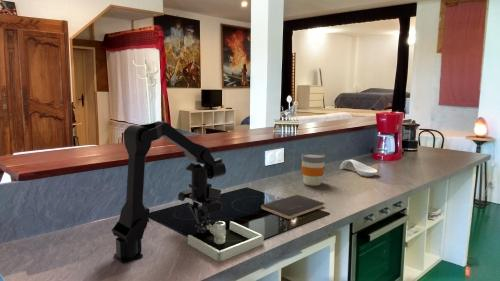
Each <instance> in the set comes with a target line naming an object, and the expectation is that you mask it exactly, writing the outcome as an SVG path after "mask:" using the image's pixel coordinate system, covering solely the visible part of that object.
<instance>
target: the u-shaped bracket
mask: <svg viewBox="0 0 500 281" xmlns="http://www.w3.org/2000/svg"><path fill="white" fill-rule="evenodd" d="M229 230H230V231H232V232H234V233H237V234H239V235H241V236H242V237H245V238H246V239H247V240H245V241H242V242H240V243H237V244H235V245H232V246H231V245H230V246H229V247H226V248H224V249H221V250H219V249H217V248H216V247H214V246H212V245H209V244H208V243H206V242H204V241H202V240H201V239H198V238H197V237H195V236H193V234H192V235H191V234H188V235H187V245H189V246H191V247H192V248H194V249H196V250H197V251H198V252H201V253H203V254H204V255H206V256H208V257H210V258H211V259H213V260H215V261H216V262H218V263H221V262H223V261H225V260H228V259H230V258H232V257H234V256H237V255H240V254H242V253H245V252H247V251H249V250H252V249H255V248H257V247H259V246H262V245H264V241H265V240H264V238H265V236H264V235H263V234H262V233H259V232H257V231H255V230H252V229H250V228H248V227H246V226H243V225H241V224H239V223H237V222H234V221H233V220H232V221H231V220H230V221H229Z"/></svg>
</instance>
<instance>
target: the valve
mask: <svg viewBox="0 0 500 281" xmlns="http://www.w3.org/2000/svg"><path fill="white" fill-rule="evenodd" d="M210 219H211V216H210V215H205V214H204V215H202V219H200V218H198V219H197V221H198V223H196V224H195V225H194V227H195V228H197V229H196V231H197V233H203V234H206V232H207V231H209V232H210V233H211V234H212V235H213V243H215V244H217V245H222V244H225V242H226V235H227V230H226V226H227V224H226V222H225V221H221V220H219V221H215V222H214V224H213V221H212V220H210ZM205 220H206V221H205ZM197 221H196V222H197ZM201 221H202V223H201ZM212 224H213V225H212ZM201 226H202V227H201Z"/></svg>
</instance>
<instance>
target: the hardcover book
mask: <svg viewBox="0 0 500 281" xmlns="http://www.w3.org/2000/svg"><path fill="white" fill-rule="evenodd" d="M324 205H325V202H323V201H319V200H316V199H312V198H310V197H307V196H303V195H301V194H294V195H290V196H288V197H285V198H281V199H277V200H274V201H270V202H267V203H264V204H261V205H260V210H264V211H266V212H269V213H272V214H275V215H276V216H279V217H282V218H285V219H287V220H291V219H293V218H296V217H299V216H301V215H304V214H307V213H309V212H313V211H316V210H318V209H319V210H320V209H321V208H324Z"/></svg>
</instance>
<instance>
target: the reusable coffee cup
mask: <svg viewBox="0 0 500 281" xmlns="http://www.w3.org/2000/svg"><path fill="white" fill-rule="evenodd" d="M300 161H301V167H300V168H301V174H302V179H303V184H305V185H307V186H320V185H321V184H322V179H323V175H324V171H325V167H326V166H325V164H326V163H325V162H326V154H322V153H317V152H306V153H305V152H304V153H302V154H301V160H300Z"/></svg>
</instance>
